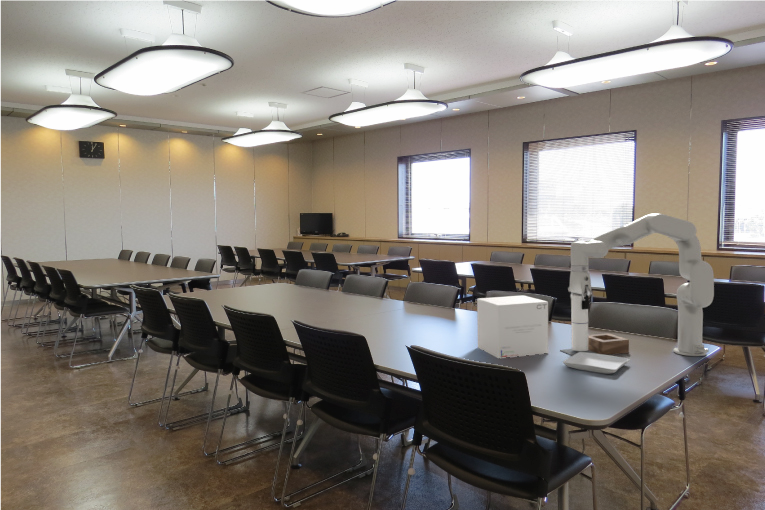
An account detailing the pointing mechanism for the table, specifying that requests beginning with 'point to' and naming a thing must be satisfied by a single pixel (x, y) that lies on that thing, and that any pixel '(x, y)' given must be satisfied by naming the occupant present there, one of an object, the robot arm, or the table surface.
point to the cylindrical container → (579, 324)
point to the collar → (607, 344)
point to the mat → (573, 352)
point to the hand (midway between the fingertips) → (579, 307)
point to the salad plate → (595, 362)
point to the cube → (512, 326)
